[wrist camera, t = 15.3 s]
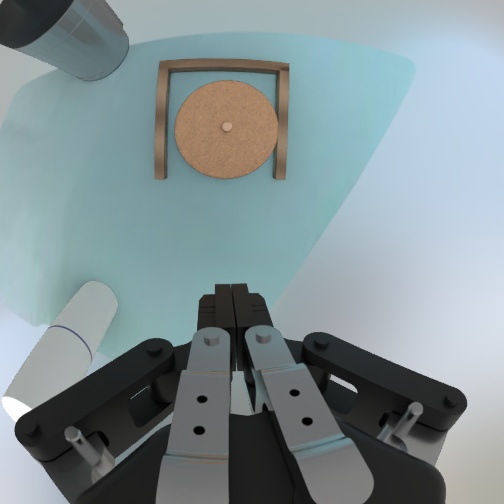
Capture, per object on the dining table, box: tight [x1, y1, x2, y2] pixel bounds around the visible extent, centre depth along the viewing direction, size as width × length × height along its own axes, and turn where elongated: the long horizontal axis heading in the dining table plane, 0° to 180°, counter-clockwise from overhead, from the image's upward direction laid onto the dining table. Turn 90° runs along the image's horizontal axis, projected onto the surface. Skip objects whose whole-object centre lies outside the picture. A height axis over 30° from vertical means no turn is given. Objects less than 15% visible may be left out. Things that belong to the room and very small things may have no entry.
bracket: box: [155, 59, 289, 180], centre depth 31 cm, size 16×16×2 cm
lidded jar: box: [175, 80, 278, 179], centre depth 28 cm, size 11×11×9 cm
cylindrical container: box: [2, 281, 118, 422], centre depth 27 cm, size 7×7×25 cm
